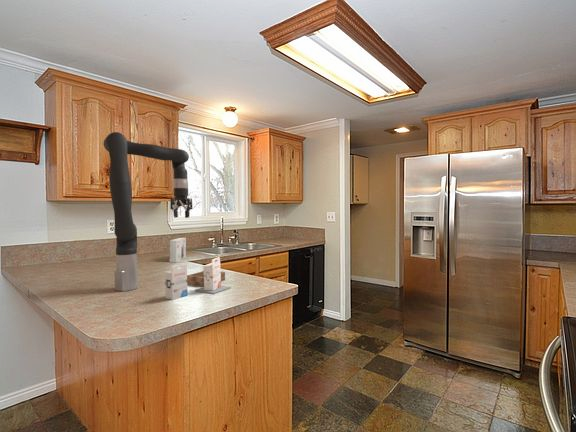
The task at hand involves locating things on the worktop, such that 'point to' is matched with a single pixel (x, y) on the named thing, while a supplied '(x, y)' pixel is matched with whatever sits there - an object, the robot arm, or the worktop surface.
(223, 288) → the mat
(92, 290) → the worktop surface
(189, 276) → the crate
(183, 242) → the skincare box
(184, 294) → the ink box
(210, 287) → the ink cartridge box
